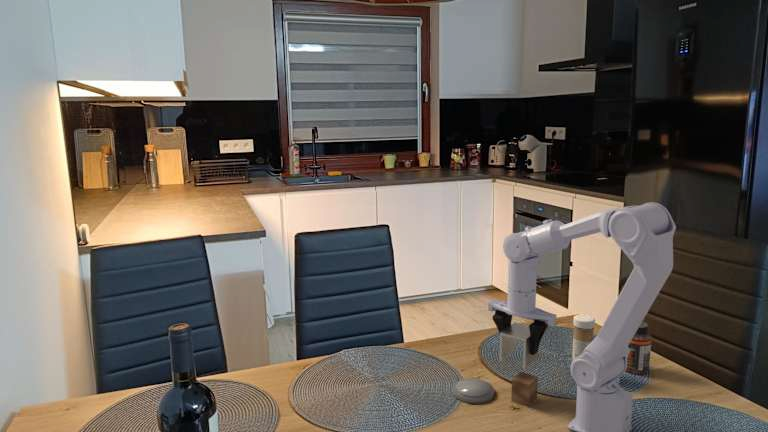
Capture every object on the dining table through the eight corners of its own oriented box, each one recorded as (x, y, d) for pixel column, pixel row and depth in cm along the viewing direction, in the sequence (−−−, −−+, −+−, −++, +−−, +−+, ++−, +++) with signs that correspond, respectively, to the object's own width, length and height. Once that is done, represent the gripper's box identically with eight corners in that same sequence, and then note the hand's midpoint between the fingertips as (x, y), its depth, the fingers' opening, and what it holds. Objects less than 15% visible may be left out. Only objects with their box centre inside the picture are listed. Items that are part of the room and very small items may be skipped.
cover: (539, 356, 116) (540, 328, 114) (525, 368, 110) (526, 339, 109) (514, 349, 119) (514, 321, 118) (499, 361, 114) (500, 332, 113)
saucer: (501, 390, 116) (501, 385, 116) (480, 408, 110) (480, 402, 109) (465, 378, 122) (465, 373, 122) (443, 394, 115) (443, 389, 115)
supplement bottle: (614, 366, 126) (617, 321, 124) (633, 361, 128) (636, 316, 126) (636, 377, 121) (639, 330, 119) (654, 372, 123) (658, 325, 121)
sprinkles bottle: (596, 373, 123) (599, 318, 120) (583, 379, 120) (586, 322, 118) (579, 366, 127) (582, 312, 124) (566, 371, 124) (569, 316, 122)
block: (537, 398, 113) (538, 376, 112) (528, 407, 110) (529, 384, 109) (520, 393, 115) (521, 371, 114) (511, 401, 112) (511, 379, 111)
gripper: (563, 290, 110) (560, 351, 113) (499, 277, 120) (497, 334, 122) (549, 299, 105) (546, 364, 108) (483, 285, 114) (482, 345, 117)
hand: (519, 349), depth 115 cm, fingers closed on cover, 6 cm apart
